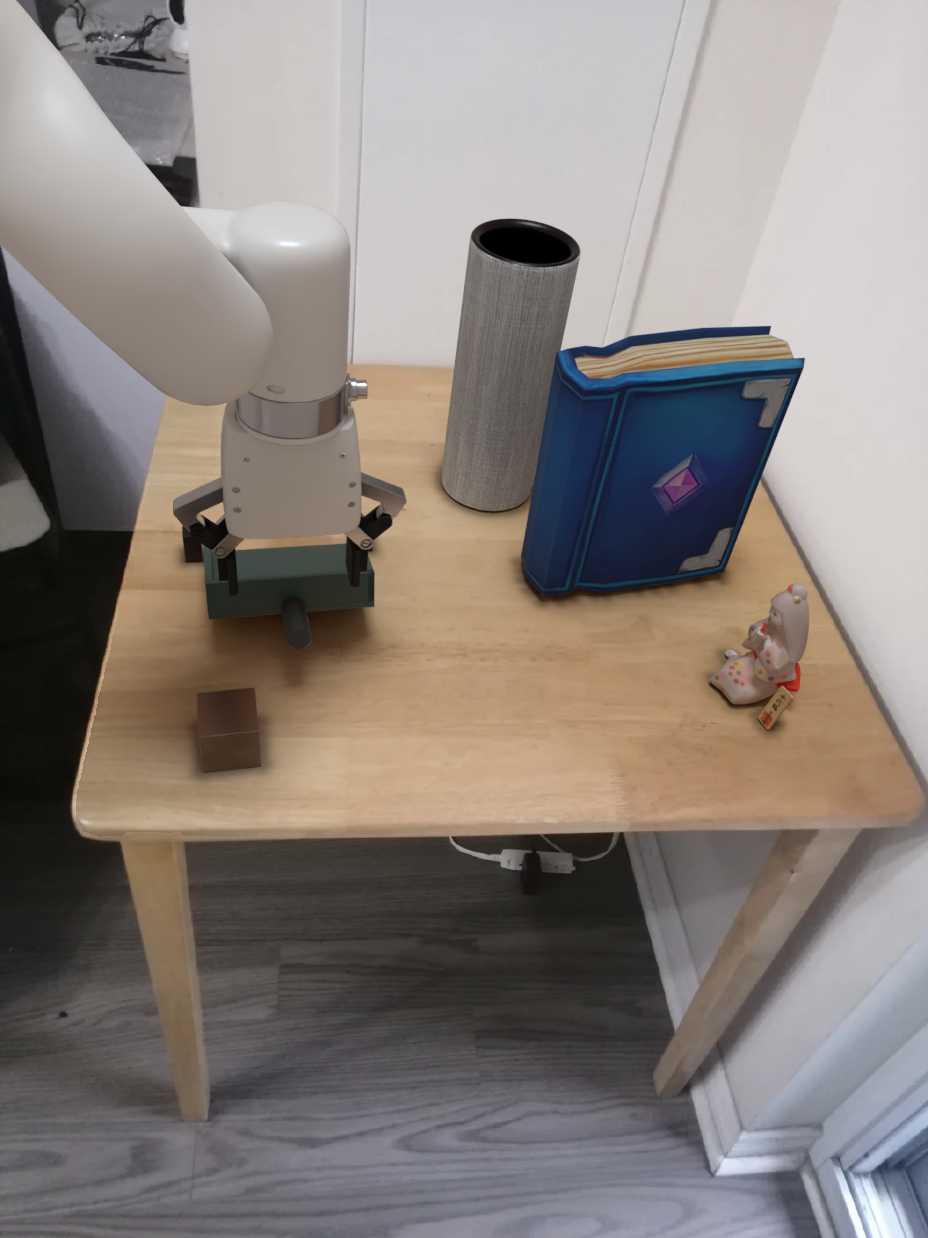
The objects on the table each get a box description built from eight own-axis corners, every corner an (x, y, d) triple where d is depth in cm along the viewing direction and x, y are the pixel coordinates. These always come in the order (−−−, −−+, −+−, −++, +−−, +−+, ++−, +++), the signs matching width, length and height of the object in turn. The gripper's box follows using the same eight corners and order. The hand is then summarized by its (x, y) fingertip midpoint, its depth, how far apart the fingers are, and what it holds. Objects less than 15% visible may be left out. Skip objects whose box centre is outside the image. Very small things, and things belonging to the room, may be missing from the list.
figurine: (692, 659, 87) (748, 557, 80) (750, 657, 90) (810, 558, 82) (741, 732, 81) (807, 628, 73) (802, 727, 83) (872, 627, 76)
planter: (515, 454, 107) (560, 217, 88) (542, 509, 101) (597, 265, 82) (430, 459, 105) (458, 216, 86) (453, 516, 98) (488, 266, 79)
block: (203, 773, 72) (198, 737, 69) (200, 728, 75) (196, 692, 72) (261, 766, 73) (259, 731, 70) (256, 722, 76) (254, 687, 73)
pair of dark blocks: (185, 551, 89) (181, 525, 87) (370, 540, 94) (371, 515, 91) (185, 562, 88) (182, 536, 86) (372, 550, 93) (374, 525, 90)
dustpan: (206, 615, 72) (210, 657, 74) (385, 601, 76) (385, 642, 77) (202, 524, 87) (206, 561, 89) (353, 516, 90) (353, 552, 92)
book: (530, 609, 89) (584, 377, 72) (505, 560, 94) (550, 331, 76) (725, 579, 96) (818, 360, 78) (692, 535, 100) (773, 318, 83)
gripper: (404, 366, 69) (390, 543, 81) (158, 369, 65) (182, 556, 77) (425, 424, 64) (406, 604, 76) (159, 432, 60) (184, 620, 72)
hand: (293, 579), depth 76 cm, fingers open, 9 cm apart
